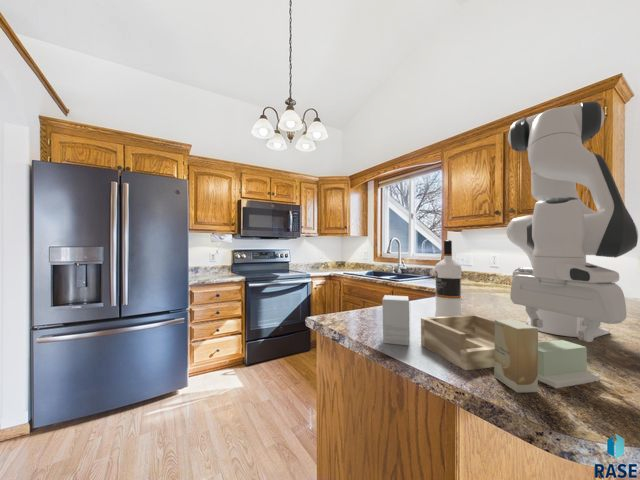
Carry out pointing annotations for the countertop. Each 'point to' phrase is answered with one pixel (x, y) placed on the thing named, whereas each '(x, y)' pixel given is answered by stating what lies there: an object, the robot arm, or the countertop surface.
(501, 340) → the skincare box
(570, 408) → the countertop surface
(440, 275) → the vodka
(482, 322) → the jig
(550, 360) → the block
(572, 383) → the mat
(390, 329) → the supplement box
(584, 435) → the countertop surface
